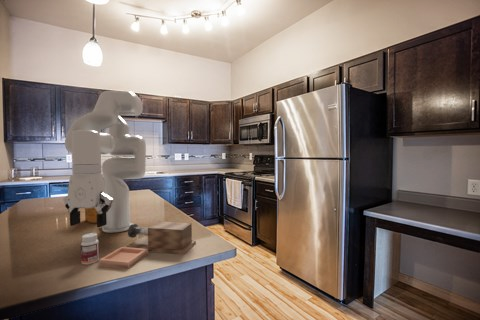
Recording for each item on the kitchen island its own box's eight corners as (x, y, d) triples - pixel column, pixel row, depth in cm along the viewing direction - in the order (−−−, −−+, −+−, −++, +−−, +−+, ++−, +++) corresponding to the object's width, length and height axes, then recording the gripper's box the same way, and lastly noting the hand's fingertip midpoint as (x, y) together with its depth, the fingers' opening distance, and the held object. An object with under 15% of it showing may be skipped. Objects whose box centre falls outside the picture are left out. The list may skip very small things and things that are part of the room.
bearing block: (125, 249, 84) (125, 227, 84) (142, 239, 94) (142, 219, 94) (184, 254, 80) (183, 231, 79) (195, 243, 89) (195, 222, 89)
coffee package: (102, 215, 129) (101, 175, 128) (113, 219, 122) (112, 176, 121) (81, 220, 121) (80, 177, 120) (92, 224, 114) (90, 178, 113)
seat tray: (99, 265, 72) (98, 259, 72) (121, 251, 82) (121, 246, 82) (128, 268, 70) (128, 262, 70) (148, 254, 80) (147, 248, 80)
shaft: (128, 239, 87) (127, 226, 87) (136, 234, 91) (136, 222, 91) (160, 241, 84) (160, 228, 84) (167, 237, 89) (167, 224, 89)
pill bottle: (86, 258, 78) (85, 232, 77) (102, 257, 78) (101, 232, 78) (78, 265, 73) (77, 238, 72) (94, 264, 73) (93, 237, 73)
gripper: (52, 171, 72) (53, 227, 72) (101, 170, 69) (103, 230, 69) (74, 169, 80) (75, 221, 80) (120, 169, 76) (121, 223, 76)
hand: (88, 225), depth 74 cm, fingers open, 9 cm apart
